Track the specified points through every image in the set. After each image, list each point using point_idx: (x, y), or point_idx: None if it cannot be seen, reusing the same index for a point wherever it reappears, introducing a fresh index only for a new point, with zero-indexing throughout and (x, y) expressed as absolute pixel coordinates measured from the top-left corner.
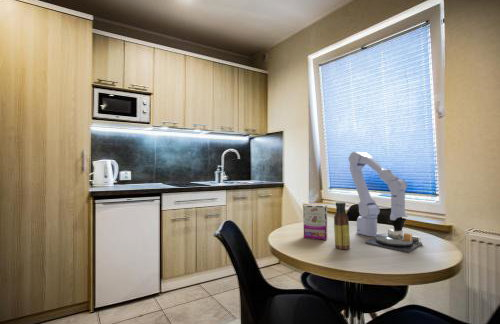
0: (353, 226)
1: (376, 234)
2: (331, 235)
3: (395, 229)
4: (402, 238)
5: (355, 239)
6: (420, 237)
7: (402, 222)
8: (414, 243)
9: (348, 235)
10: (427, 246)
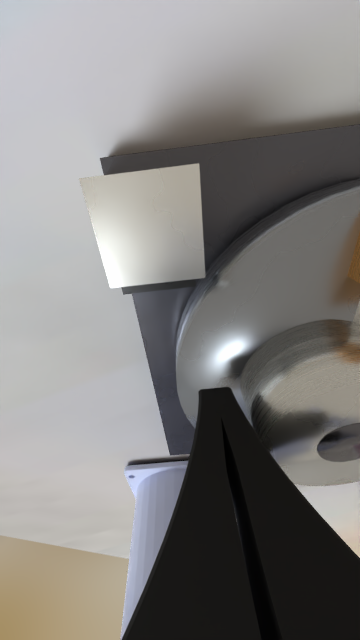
0: (97, 547)
1: (174, 469)
2: (335, 523)
3: (281, 457)
4: (332, 313)
5: None
6: (95, 177)
7: (345, 594)
8: (229, 203)
9: None
10: (144, 46)
